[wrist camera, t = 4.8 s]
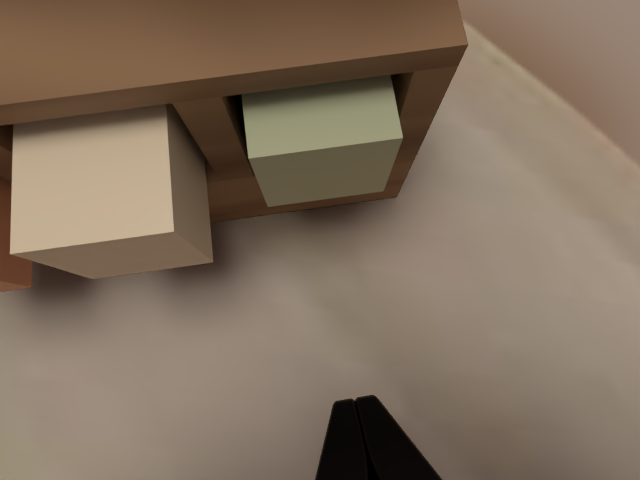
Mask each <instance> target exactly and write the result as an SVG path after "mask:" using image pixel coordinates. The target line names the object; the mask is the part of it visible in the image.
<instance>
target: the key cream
mask: <svg viewBox="0 0 640 480" xmlns="http://www.w3.org/2000/svg"><path fill="white" fill-rule="evenodd" d="M10 254H11V255H14V256H18V257H21V258H24V259H28V260H31V261H34V262H37V263H41V264H44V265H47V266H51V267H54V268H57V269H61V270H64V271H67V272H70V273H74V274H77V275H80V276H84V277H87V278H90V279H98V278H105V277H112V276H120V275H127V274H134V273H141V272H148V271H156V270H163V269H170V268H177V267H184V266H192V265H199V264H206V263H213V251H212V239H211V228H210V216H209V204H208V192H207V180H206V169H205V157H204V154H203V152H202V151H201V149H200V147H199V146H198V144H197V143H196V141H195V139H194V138H193V136H192V135H191V133H190V131H189V130H188V128H187V127H186V125H185V123H184V122H183V120H182V118H181V117H180V115H179V114H178V112H177V110H176V109H175V107H174V106H173V104H172V103H170V104H162V105H154V106H147V107H139V108H132V109H124V110H116V111H109V112H101V113H93V114H86V115H78V116H70V117H63V118H55V119H47V120H40V121H32V122H24V123H17V124H13V155H12V193H11V232H10Z"/></svg>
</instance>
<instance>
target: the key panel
mask: <svg viewBox="0 0 640 480" xmlns="http://www.w3.org/2000/svg"><path fill="white" fill-rule="evenodd" d="M467 46H468V41H467V37H466V34H465V30H464V26H463V22H462V18H461V14H460V10H459V6H458V2H457V0H0V177H2V178H4V179H6V180H8V181H9V182H11V183H12V155H13V124H17V123H24V122H32V121H40V120H47V119H55V118H63V117H70V116H78V115H86V114H93V113H101V112H109V111H116V110H124V109H132V108H139V107H147V106H154V105H162V104H170V103H172V104H173V106H174V107H175V109H176V110H177V112H178V114H179V115H180V117H181V118H182V120H183V122H184V123H185V125H186V127H187V128H188V130H189V131H190V133H191V135H192V136H193V138H194V139H195V141H196V143H197V144H198V146H199V147H200V149H201V151H202V152H203V154H204V157H205V169H206V180H207V192H208V204H209V216H210V222H217V221H224V220H232V219H239V218H246V217H253V216H261V215H268V214H275V213H283V212H290V211H297V210H305V209H312V208H319V207H326V206H334V205H341V204H348V203H356V202H363V201H370V200H378V199H385V198H392V197H397V195H398V193H399V191H400V189H401V187H402V184H403V182H404V180H405V178H406V176H407V174H408V172H409V170H410V167H411V165H412V163H413V161H414V159H415V157H416V155H417V153H418V150H419V148H420V146H421V144H422V142H423V140H424V138H425V136H426V133H427V131H428V129H429V127H430V125H431V123H432V121H433V118H434V116H435V114H436V112H437V110H438V108H439V106H440V104H441V101H442V99H443V97H444V95H445V93H446V91H447V89H448V87H449V84H450V82H451V80H452V78H453V76H454V74H455V72H456V70H457V67H458V65H459V63H460V61H461V59H462V57H463V55H464V52H465V50H466V48H467ZM384 75H391V80H392V85H393V90H394V95H395V100H396V105H397V110H398V115H399V120H400V125H401V130H402V135H403V140H402V142H401V145H400V148H399V150H398V153H397V156H396V159H395V161H394V164H393V167H392V169H391V172H390V175H389V178H388V180H387V183H386V186H385V188H384V191H382V192H375V193H367V194H360V195H353V196H345V197H338V198H331V199H323V200H316V201H309V202H301V203H294V204H287V205H279V206H272V207H268V206H267V204H266V201H265V199H264V196H263V194H262V191H261V189H260V186H259V184H258V181H257V179H256V176H255V174H254V171H253V169H252V166H251V164H250V161H249V159H248V150H247V141H246V132H245V123H244V114H243V105H242V95H241V94H246V93H254V92H262V91H269V90H277V89H285V88H292V87H300V86H308V85H315V84H323V83H331V82H338V81H346V80H354V79H361V78H369V77H377V76H384Z"/></svg>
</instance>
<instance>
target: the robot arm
mask: <svg viewBox="0 0 640 480" xmlns="http://www.w3.org/2000/svg"><path fill="white" fill-rule="evenodd" d="M315 480H442V479H441V477H440V476H439V475H438V474H437V472H436V471H435V470H434V469H433V467H432V466H431V465H430V464H429V462H428V461H427V460H426V459H425V457H424V456H423V455H422V453H421V452H420V451H419V450H418V448H417V447H416V446H415V445H414V443H413V442H412V441H411V440H410V438H409V437H408V436H407V435H406V433H405V432H404V431H403V429H402V428H401V427H400V426H399V424H398V423H397V422H396V421H395V419H394V418H393V417H392V416H391V414H390V413H389V412H388V411H387V409H386V408H385V407H384V405H383V404H382V403H381V402H380V400H379V399H378V398H377V397H376V396H374V395H369V396H363V397H358V398H356V399H355V401H354V400H353V399H345V400H339V401H336V402H334V404H333V407H332V411H331V415H330V419H329V424H328V428H327V432H326V436H325V440H324V444H323V449H322V453H321V457H320V461H319V465H318V469H317V473H316V478H315Z"/></svg>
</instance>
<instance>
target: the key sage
mask: <svg viewBox="0 0 640 480" xmlns="http://www.w3.org/2000/svg"><path fill="white" fill-rule="evenodd" d="M241 95H242V105H243V114H244V123H245V132H246V141H247V150H248V159H249V161H250V164H251V166H252V169H253V171H254V174H255V176H256V179H257V181H258V184H259V186H260V189H261V191H262V194H263V196H264V199H265V201H266V204H267V206H268V207H272V206H279V205H287V204H294V203H301V202H309V201H316V200H323V199H331V198H338V197H345V196H353V195H360V194H367V193H375V192H382V191H384V188H385V186H386V183H387V180H388V178H389V175H390V172H391V169H392V167H393V164H394V161H395V159H396V156H397V153H398V150H399V148H400V145H401V142H402V140H403V135H402V130H401V125H400V120H399V115H398V110H397V105H396V100H395V95H394V90H393V85H392V80H391V75H384V76H377V77H369V78H361V79H354V80H346V81H338V82H331V83H323V84H315V85H308V86H300V87H292V88H285V89H277V90H269V91H262V92H254V93H246V94H241Z"/></svg>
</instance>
